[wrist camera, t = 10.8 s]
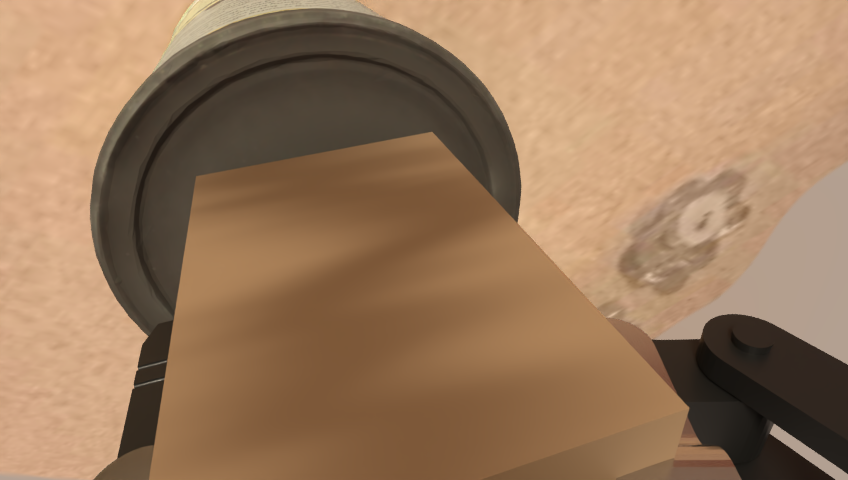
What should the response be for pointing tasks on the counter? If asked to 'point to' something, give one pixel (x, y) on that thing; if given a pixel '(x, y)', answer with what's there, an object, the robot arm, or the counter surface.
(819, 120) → the counter surface
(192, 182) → the coffee can
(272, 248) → the walnut block
